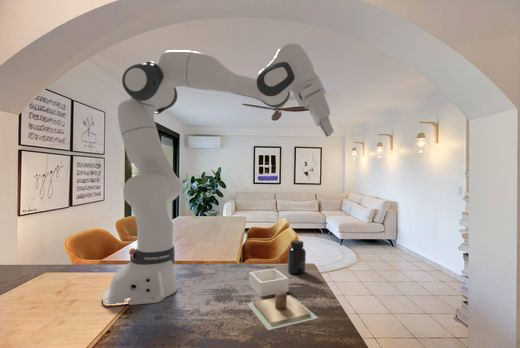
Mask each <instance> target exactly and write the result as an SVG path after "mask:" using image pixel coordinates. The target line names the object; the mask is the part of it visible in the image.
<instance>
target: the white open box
mask: <svg viewBox="0 0 520 348" xmlns="http://www.w3.org/2000/svg"><path fill="white" fill-rule="evenodd" d="M289 282H290V279H289V277H287V276H285V275H284V274H283V273H282V272H281V271H279V270H278V269H277V268H269V269H263V270H262V269H261V270H255V271H249V272H248V285H249V287H250V288H251V289H253V291H254V292H255V293H256V294H257V295H258V296H259V297H260V298H262V297H265V296H272V295H275V293H276V292H278V291H284V292H286V293H287V292H289V287H290V285H289Z"/></svg>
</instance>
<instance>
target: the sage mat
mask: <svg viewBox="0 0 520 348" xmlns="http://www.w3.org/2000/svg"><path fill="white" fill-rule="evenodd" d="M289 295H290V296H291V297H292V298H293V299H294V300H295V301H297V302H298V303H299V304H300V305H301V306H302V307H304V308H305V309H306V310H307V311H308V312H310V313H311V316H310V317H306V318H301V319H297V320H293V321H289V322H284V323H280V324H276V325H272V326H271V325H270V324H269V323H268V322H267V320H266V319H265V318H264V317H263V316H262V314H261V313H260V312H259V311H258V310H257V308H256V307H255V306H254V305H253V302H254V301H252V302H246V304H247V306H248V307H249V309H251V310H252V312H253V313H254V314H255V316H256V317H257V318H258V319H259V321H260V322H261V323H262V325H263V326H264V327H265V328H266V330H268V331H270V330H275V329H278V328H283V327H288V326H291V325H295V324H299V323H304V322H308V321H313V320H316V319H319V317H318V316H317V315H316V314H315V313H313V312H312V311H311V310H309V308H307V307H306V306H305V305H304V304H302V303H301V302H300V301H299V300H298V299H297V298H295V296H293V295H292V294H289Z"/></svg>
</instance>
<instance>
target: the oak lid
mask: <svg viewBox="0 0 520 348" xmlns="http://www.w3.org/2000/svg"><path fill="white" fill-rule="evenodd" d="M274 295H275V297H273V298H272V297H271V298H268V299H262V300H257V301H252V302H253V305H254V306H255V307H256V308H257V310H258V311H259V312H260V313H261V314H262V316H263V317H264V318H265V319H266V320H267V322H268V323H269V324H270V325H271V326H272V325H276V324H280V323H284V322H289V321H293V320H297V319H301V318H306V317H310V316H311V313H310V312H308V311H307V310H306V309H305V308H304V307H302V306H301V305H300V304H299V303H298V302H297V301H295V300H294V299H293V298H292V297H291V296H290V295H291V294H289V295H288V294H287V292H284V291H278V292H276V293H275V294H274Z"/></svg>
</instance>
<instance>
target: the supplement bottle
mask: <svg viewBox="0 0 520 348" xmlns="http://www.w3.org/2000/svg"><path fill="white" fill-rule="evenodd" d="M306 255H307V254H306V250H305V248H304V241H303V240H291V241H290V247H289V249H288V250H287V272H288V273H289V274H291V275H294V276H295V275H296V276H301V275H304V274H305V273H306Z"/></svg>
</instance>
